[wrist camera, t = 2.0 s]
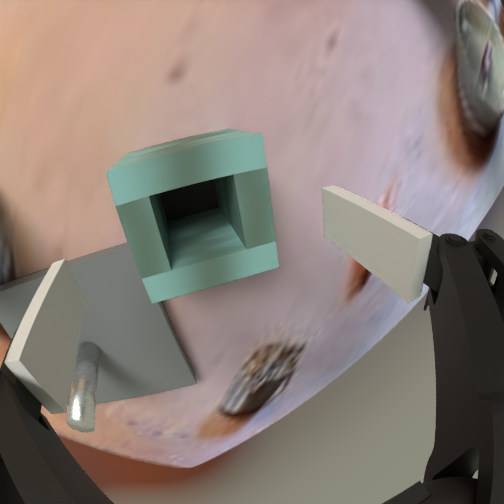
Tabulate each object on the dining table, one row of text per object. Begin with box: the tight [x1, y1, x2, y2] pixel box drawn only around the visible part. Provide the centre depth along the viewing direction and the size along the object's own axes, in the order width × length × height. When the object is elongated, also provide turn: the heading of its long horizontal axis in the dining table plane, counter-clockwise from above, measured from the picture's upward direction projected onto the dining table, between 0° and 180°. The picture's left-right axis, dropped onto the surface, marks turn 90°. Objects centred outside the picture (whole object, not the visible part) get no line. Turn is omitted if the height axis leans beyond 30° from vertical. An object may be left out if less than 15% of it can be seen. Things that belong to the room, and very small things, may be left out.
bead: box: [106, 129, 279, 303], centre depth 18 cm, size 8×8×8 cm
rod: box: [67, 341, 101, 432], centre depth 20 cm, size 2×2×9 cm
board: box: [0, 243, 197, 406], centre depth 24 cm, size 18×18×2 cm
